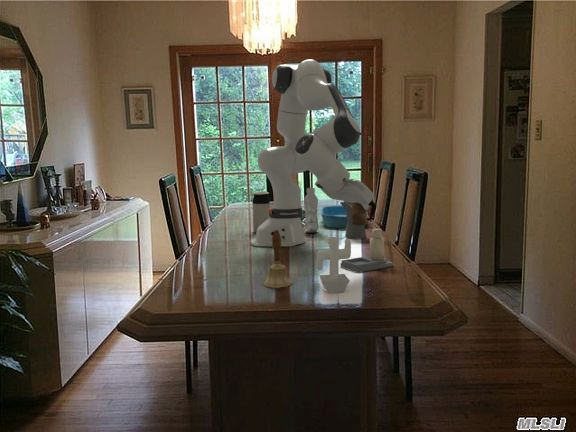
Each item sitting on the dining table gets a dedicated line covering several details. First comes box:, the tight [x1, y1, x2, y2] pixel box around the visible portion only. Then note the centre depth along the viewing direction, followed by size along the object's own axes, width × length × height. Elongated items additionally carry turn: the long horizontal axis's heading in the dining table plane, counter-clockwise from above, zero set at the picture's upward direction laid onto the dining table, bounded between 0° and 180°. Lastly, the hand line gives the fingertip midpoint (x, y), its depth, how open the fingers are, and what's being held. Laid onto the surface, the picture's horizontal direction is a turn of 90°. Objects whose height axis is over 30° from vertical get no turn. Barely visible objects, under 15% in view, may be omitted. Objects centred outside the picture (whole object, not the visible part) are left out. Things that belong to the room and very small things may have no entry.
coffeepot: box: [339, 200, 377, 240], centre depth 217 cm, size 15×9×18 cm, turn 68°
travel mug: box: [251, 191, 271, 233], centre depth 237 cm, size 8×8×18 cm
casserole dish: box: [320, 204, 368, 229], centre depth 256 cm, size 37×22×7 cm, turn 176°
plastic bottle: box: [303, 187, 319, 234], centre depth 231 cm, size 6×7×20 cm
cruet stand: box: [340, 228, 394, 273], centre depth 167 cm, size 15×9×12 cm, turn 119°
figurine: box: [316, 236, 352, 294], centre depth 141 cm, size 7×9×15 cm
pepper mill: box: [352, 202, 368, 226], centre depth 164 cm, size 5×5×10 cm
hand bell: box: [263, 230, 293, 289], centre depth 149 cm, size 8×8×16 cm
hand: (361, 207), depth 164 cm, fingers closed on pepper mill, 5 cm apart
